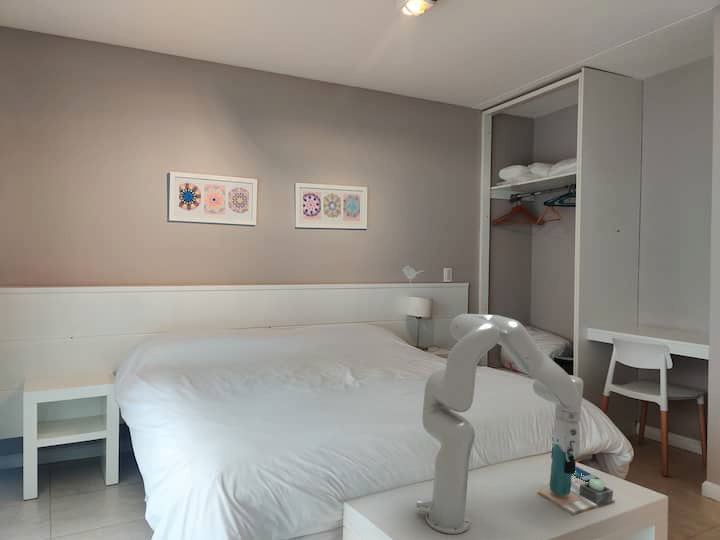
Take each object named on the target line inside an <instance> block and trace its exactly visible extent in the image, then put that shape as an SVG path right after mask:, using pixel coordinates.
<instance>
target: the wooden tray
mask: <svg viewBox="0 0 720 540" xmlns="http://www.w3.org/2000/svg"><path fill="white" fill-rule="evenodd" d="M570 490H571V491H570V493H571V494H573V495H574V496H576V497H578V498H580V499H581V500H579V501H576V502H572V503H569V504H566V505H563V506H561V505H559V504H557V503H556V502H554V501H552V500H551V499H549V498H547V497H546V496H544V495H542V494H541V493H539V491H537V495H539V496H541V497H543V498H544V499H546V500H548V501H550V502H551V503H553V504H554V505H556V506H558V507H559V508H561V509H562V510H564V511H566V512H568V513H569V514H571V515H572V516H576V515H579V514H582V513H585V512H588V511H591V510H594V509H597V508H600V507H604V506H606V505H610V504H613V503H615V501H616V500H615V499H614V498H613V495H614V490H613V489H611V488H609V487H607V486H605V485H604V491H603V492H600V493H597V492H596V491H594V490H592V489H590V488H589V482H588V483H586V482H584V483H583V481H581V480H576V481H571V488H570Z"/></svg>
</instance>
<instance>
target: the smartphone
mask: <svg viewBox="0 0 720 540" xmlns="http://www.w3.org/2000/svg"><path fill="white" fill-rule="evenodd" d="M575 471H576V472H575V474H573V475H574V476H576V477H577V478H576V477H575V478H576V479H578V478H579V479H578V480H580V479H581V480H580V481H582V480H583V481H582V482H584V481H585V482H584V483H586V482H590V479H592V478H594V479H599V480H600V478H599V477H597V476H596V475H594V474H592V473H590V472H588V471H586V470H585V469H583V468H580V467H578V466H576V465H575ZM581 473H582V476H581ZM573 475H572V476H573ZM583 475H584V476H583ZM574 476H573V477H574ZM585 476H586V477H585Z"/></svg>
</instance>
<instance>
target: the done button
mask: <svg viewBox="0 0 720 540" xmlns="http://www.w3.org/2000/svg"><path fill="white" fill-rule="evenodd" d="M604 486H605V481H603V480H601V479H600V478H599V479H594V478H592V479H590V482H589V488H590V489H592V490H594V491H596V492H597V493H600V492H603V491H604Z"/></svg>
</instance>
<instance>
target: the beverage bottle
mask: <svg viewBox="0 0 720 540" xmlns="http://www.w3.org/2000/svg"><path fill="white" fill-rule="evenodd" d="M557 441H558V439H557ZM558 442H559V441H558ZM567 451H572V450H567ZM551 455H552V454H551ZM571 455H572V454H569V457H570V456H571ZM565 460H566V455H565V453H564V452H563V451H562V450H561V449H560V447H559V446H558V445H557V444H556V445H554V446H553V455H552V458H551V465H550V475H549V484H548V485H549V488H550V490H551V491H552V492H554V493H556V494H558V495H569V493H570V491H571V490H570V488H571V482H573V481H572V476H573V475H572V474H568V473H565V472H564V467H565Z"/></svg>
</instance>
